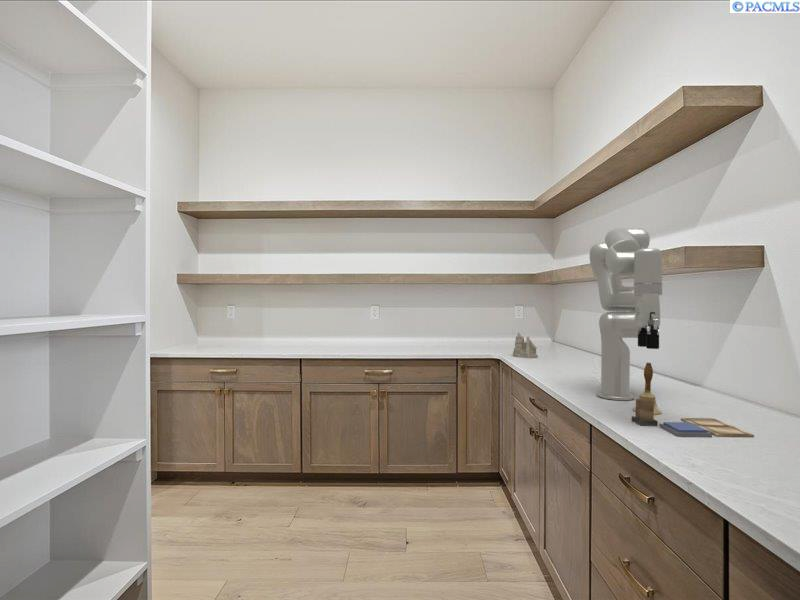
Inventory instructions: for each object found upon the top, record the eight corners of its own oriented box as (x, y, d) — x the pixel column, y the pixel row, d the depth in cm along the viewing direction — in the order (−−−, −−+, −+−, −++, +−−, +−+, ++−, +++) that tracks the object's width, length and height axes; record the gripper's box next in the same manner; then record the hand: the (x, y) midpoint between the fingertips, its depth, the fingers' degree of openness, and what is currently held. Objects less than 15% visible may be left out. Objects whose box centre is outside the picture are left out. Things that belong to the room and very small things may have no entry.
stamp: (631, 421, 138) (632, 398, 138) (648, 421, 138) (648, 398, 138) (640, 426, 133) (640, 402, 133) (657, 426, 133) (657, 402, 133)
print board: (680, 420, 139) (680, 417, 139) (714, 420, 139) (714, 418, 139) (716, 436, 123) (716, 434, 123) (754, 437, 123) (754, 434, 123)
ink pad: (659, 426, 132) (659, 421, 132) (691, 427, 132) (691, 421, 132) (677, 436, 123) (677, 430, 123) (711, 437, 123) (711, 431, 123)
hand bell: (652, 408, 153) (652, 360, 153) (667, 415, 145) (668, 364, 145) (627, 408, 153) (628, 360, 153) (641, 415, 145) (642, 364, 145)
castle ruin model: (532, 358, 270) (532, 333, 271) (507, 357, 281) (507, 332, 282) (544, 357, 281) (544, 333, 282) (520, 356, 293) (520, 332, 293)
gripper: (627, 291, 147) (627, 345, 146) (641, 288, 130) (641, 349, 129) (653, 291, 145) (653, 346, 144) (671, 288, 128) (671, 350, 127)
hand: (648, 347), depth 137 cm, fingers open, 9 cm apart
